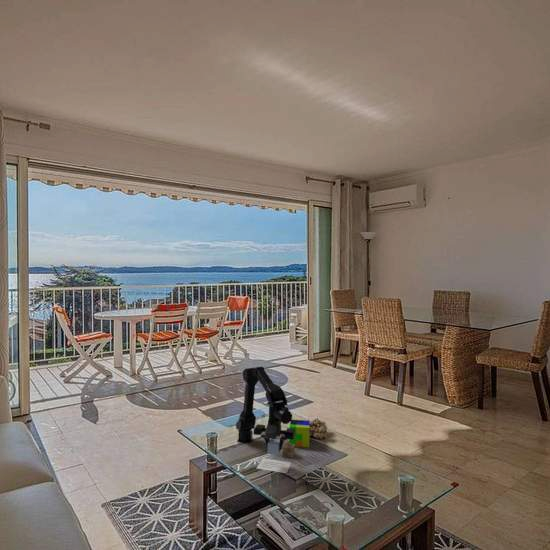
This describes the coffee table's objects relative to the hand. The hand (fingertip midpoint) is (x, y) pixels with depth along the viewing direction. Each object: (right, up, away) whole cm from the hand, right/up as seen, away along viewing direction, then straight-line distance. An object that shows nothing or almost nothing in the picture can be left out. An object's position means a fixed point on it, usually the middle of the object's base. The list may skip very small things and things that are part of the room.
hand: (274, 450), depth 185 cm
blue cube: (0, -1, 0) cm, 1 cm away
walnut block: (+7, -7, +11) cm, 15 cm away
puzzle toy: (+13, -7, +25) cm, 30 cm away
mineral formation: (+23, -7, +35) cm, 43 cm away
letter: (0, -7, 0) cm, 7 cm away
